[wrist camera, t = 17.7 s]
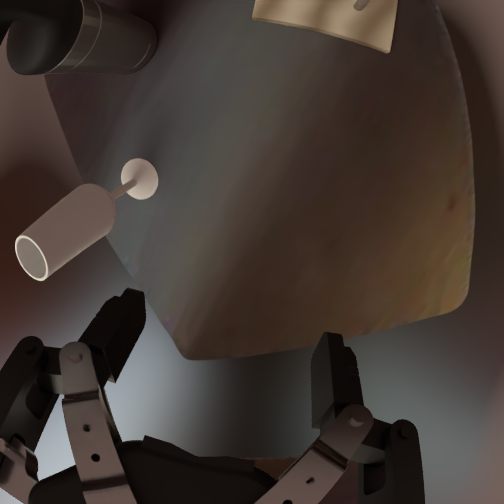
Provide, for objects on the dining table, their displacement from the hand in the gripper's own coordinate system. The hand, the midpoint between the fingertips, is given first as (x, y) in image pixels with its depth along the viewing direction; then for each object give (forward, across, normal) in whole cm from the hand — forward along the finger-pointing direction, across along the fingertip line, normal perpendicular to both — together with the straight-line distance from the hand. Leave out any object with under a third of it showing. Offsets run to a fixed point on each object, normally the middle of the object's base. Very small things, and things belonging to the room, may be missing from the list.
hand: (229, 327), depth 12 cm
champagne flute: (+30, +19, +5) cm, 36 cm away
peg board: (+30, -3, -29) cm, 42 cm away
